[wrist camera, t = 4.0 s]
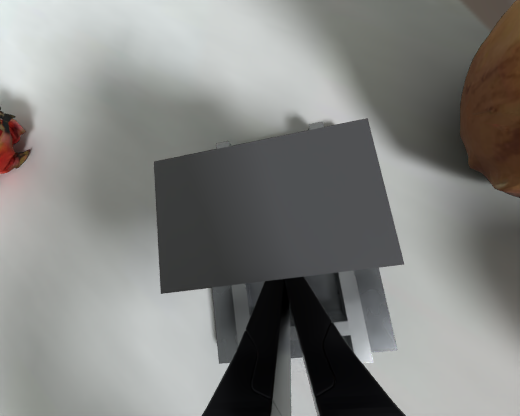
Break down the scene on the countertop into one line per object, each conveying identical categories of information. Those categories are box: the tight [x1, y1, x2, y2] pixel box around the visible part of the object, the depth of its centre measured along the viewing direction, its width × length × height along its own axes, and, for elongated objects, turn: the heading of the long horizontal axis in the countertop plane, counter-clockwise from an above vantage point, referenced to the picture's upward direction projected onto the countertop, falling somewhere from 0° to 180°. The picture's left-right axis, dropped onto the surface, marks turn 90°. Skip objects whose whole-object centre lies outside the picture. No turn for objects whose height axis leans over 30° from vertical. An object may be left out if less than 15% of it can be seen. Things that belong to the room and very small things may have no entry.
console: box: [212, 122, 397, 364], centre depth 16 cm, size 16×12×2 cm
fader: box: [154, 118, 404, 294], centre depth 10 cm, size 6×5×12 cm
